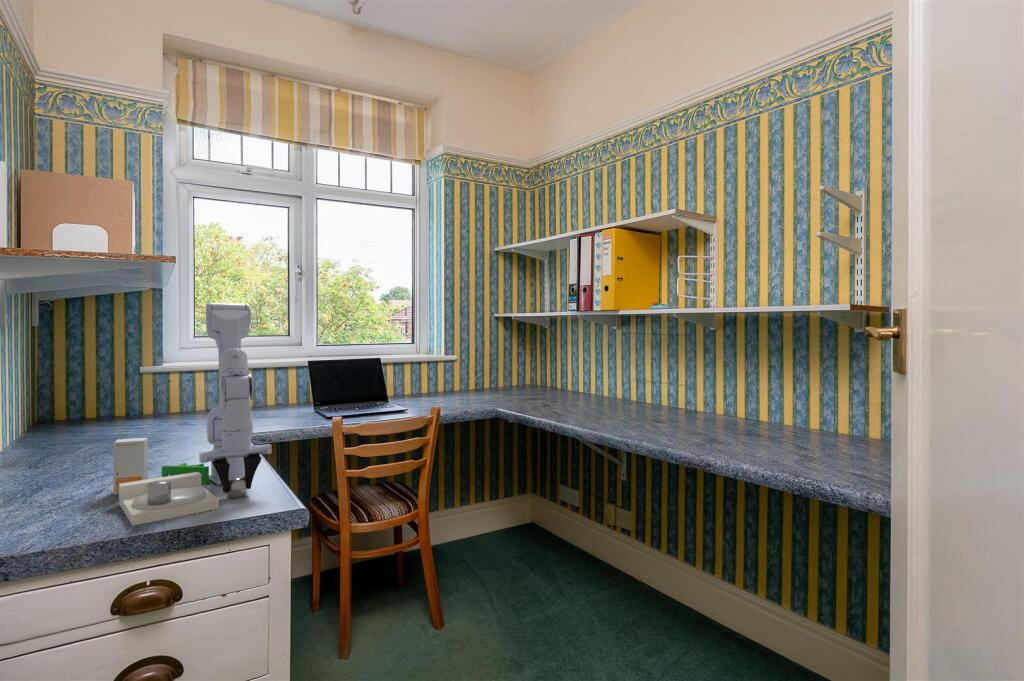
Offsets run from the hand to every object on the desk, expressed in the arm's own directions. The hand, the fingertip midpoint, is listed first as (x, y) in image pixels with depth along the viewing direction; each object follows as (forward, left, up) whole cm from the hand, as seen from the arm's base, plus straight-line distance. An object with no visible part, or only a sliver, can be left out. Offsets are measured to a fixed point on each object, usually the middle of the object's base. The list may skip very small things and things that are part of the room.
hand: (236, 490), depth 125 cm
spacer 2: (0, 0, -1) cm, 1 cm away
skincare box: (-20, -17, -2) cm, 26 cm away
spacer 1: (+3, -15, +1) cm, 16 cm away
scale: (-1, -13, -1) cm, 13 cm away
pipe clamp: (-19, -5, -2) cm, 20 cm away
